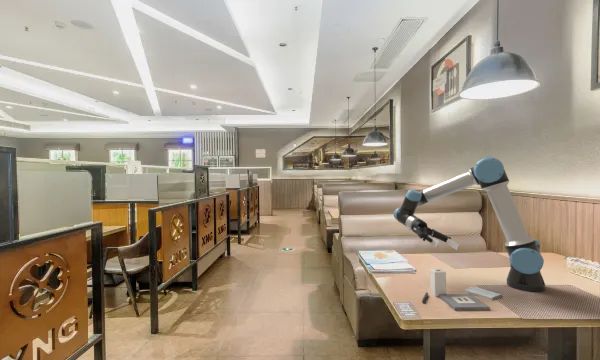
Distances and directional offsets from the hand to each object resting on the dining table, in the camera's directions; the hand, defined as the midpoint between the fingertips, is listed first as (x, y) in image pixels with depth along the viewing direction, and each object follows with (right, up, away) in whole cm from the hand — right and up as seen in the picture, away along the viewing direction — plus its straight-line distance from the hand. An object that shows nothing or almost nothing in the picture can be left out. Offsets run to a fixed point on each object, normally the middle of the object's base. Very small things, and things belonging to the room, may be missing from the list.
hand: (448, 246), depth 138 cm
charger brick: (-5, -22, -1) cm, 22 cm away
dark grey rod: (-13, -22, -6) cm, 26 cm away
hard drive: (+15, -22, -1) cm, 27 cm away
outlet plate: (+1, -22, -11) cm, 24 cm away
